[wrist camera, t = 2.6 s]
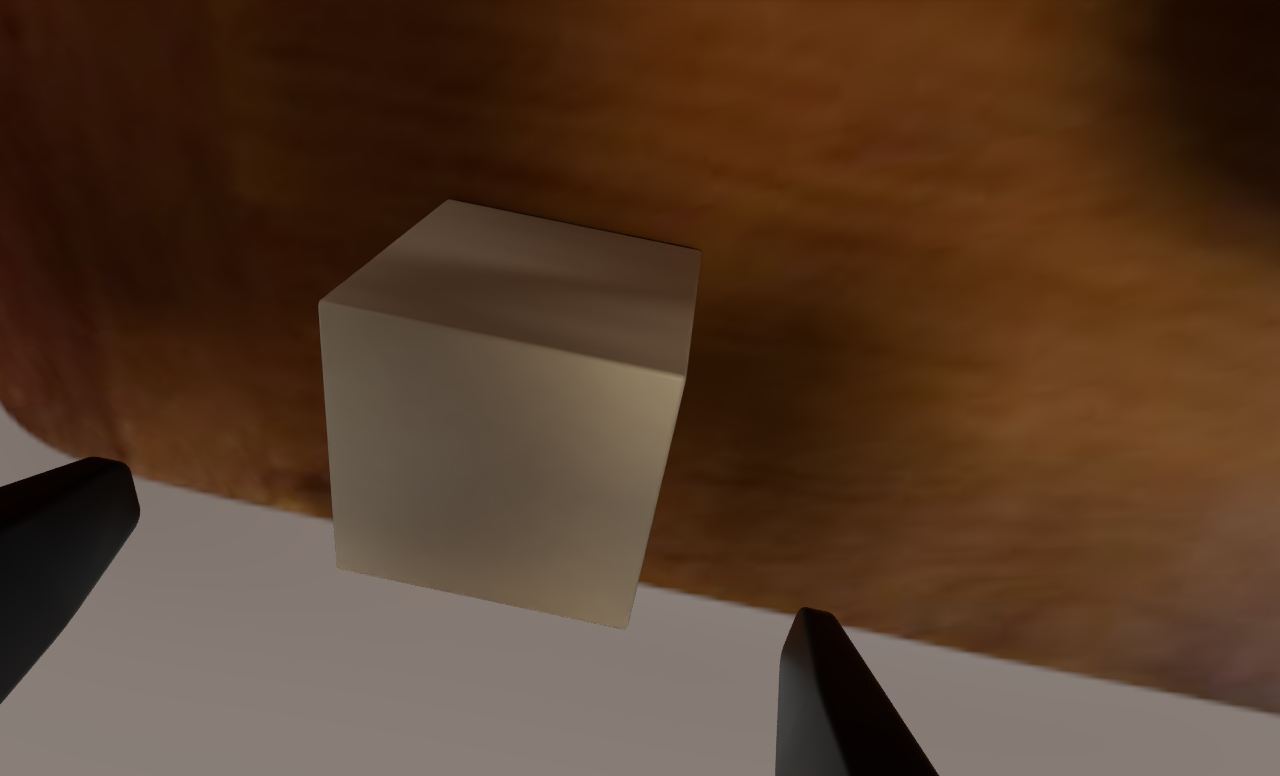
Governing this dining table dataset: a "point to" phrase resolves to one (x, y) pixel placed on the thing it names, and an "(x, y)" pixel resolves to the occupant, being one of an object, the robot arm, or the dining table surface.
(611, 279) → the block
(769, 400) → the dining table surface
